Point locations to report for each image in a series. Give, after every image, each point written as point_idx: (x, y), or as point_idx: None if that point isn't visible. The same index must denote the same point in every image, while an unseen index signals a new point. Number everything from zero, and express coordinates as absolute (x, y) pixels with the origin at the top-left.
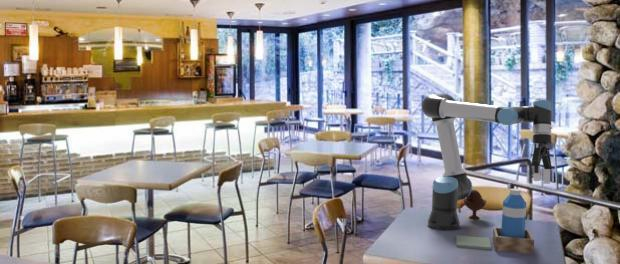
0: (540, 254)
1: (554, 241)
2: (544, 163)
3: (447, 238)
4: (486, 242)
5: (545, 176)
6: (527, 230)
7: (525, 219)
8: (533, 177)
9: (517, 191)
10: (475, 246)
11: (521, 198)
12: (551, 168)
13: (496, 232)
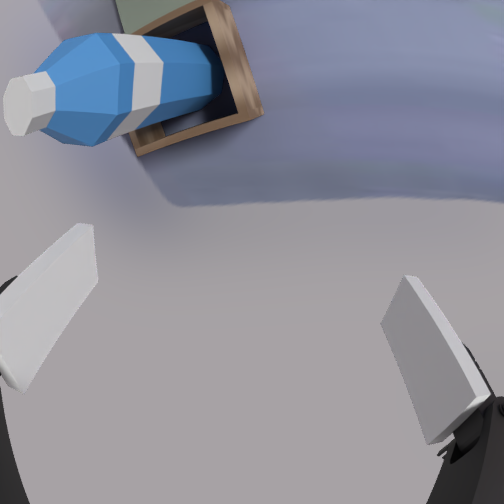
0: (172, 162)
1: (339, 194)
2: (462, 489)
3: None
4: (164, 10)
5: (424, 344)
6: (238, 114)
7: (144, 126)
8: (60, 238)
9: (12, 125)
10: (118, 7)
11: (52, 133)
12: (443, 456)
13: (144, 31)
